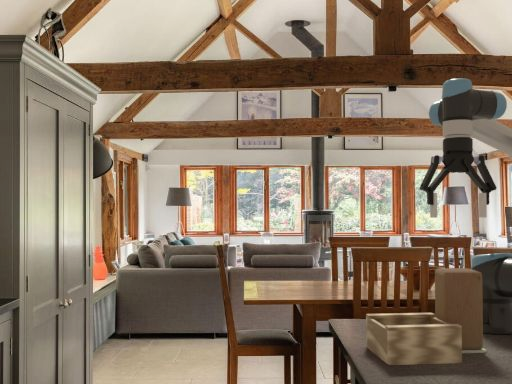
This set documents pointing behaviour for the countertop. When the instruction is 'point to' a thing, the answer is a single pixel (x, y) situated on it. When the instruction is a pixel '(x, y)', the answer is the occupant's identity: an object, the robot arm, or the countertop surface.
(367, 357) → the countertop surface
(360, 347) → the countertop surface
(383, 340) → the crate
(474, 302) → the wooden block
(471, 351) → the mat
